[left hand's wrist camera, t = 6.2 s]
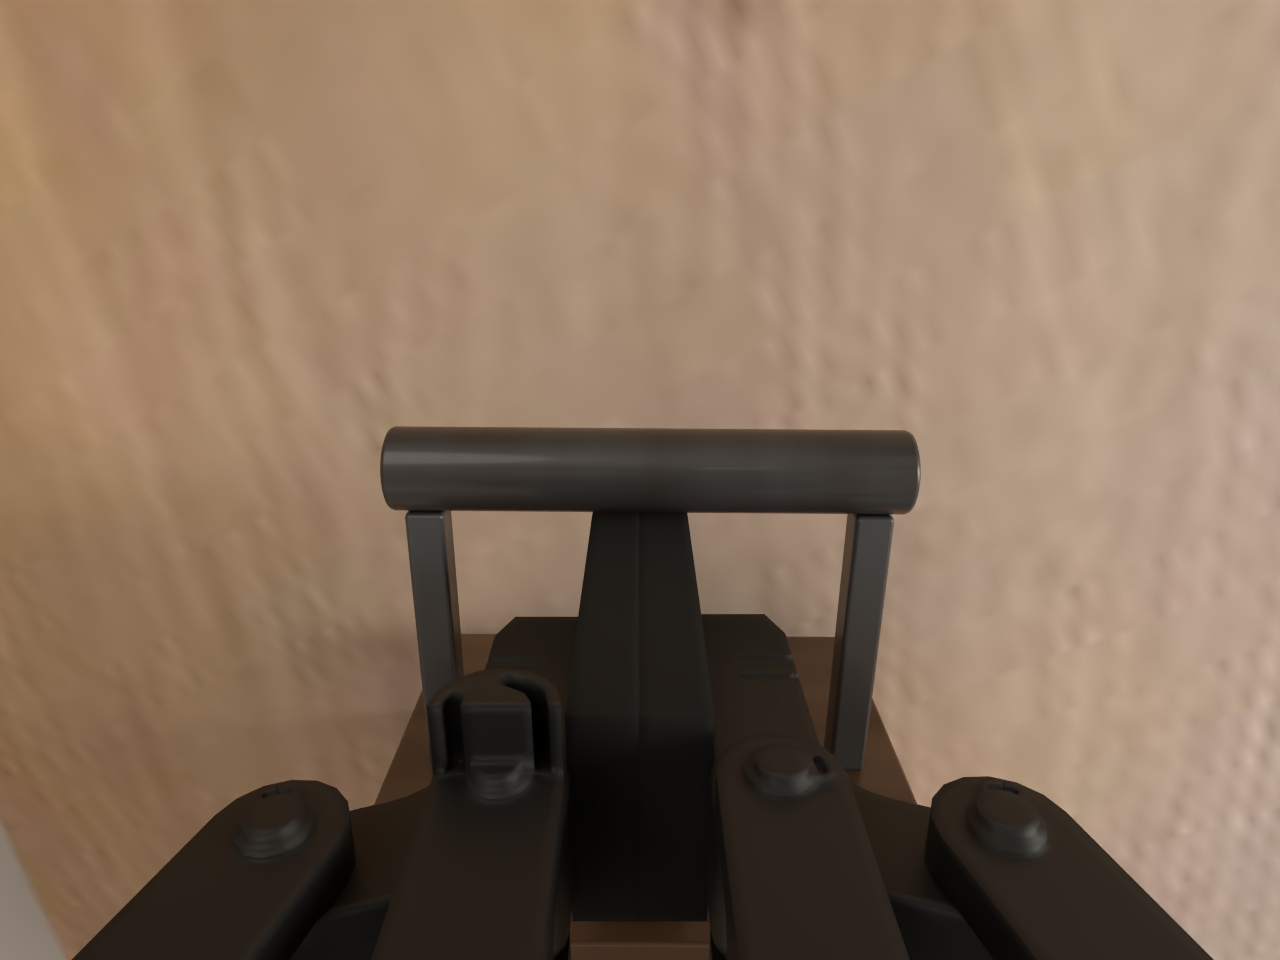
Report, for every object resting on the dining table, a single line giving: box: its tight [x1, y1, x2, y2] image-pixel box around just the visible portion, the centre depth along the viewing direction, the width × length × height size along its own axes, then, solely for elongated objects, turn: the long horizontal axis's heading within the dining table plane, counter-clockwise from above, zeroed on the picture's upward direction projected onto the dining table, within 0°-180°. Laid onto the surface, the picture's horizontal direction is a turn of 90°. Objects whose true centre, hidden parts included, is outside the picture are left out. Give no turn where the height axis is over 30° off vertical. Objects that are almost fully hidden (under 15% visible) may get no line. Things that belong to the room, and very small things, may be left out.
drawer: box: [374, 427, 921, 960], centre depth 17 cm, size 22×9×8 cm, turn 0°
